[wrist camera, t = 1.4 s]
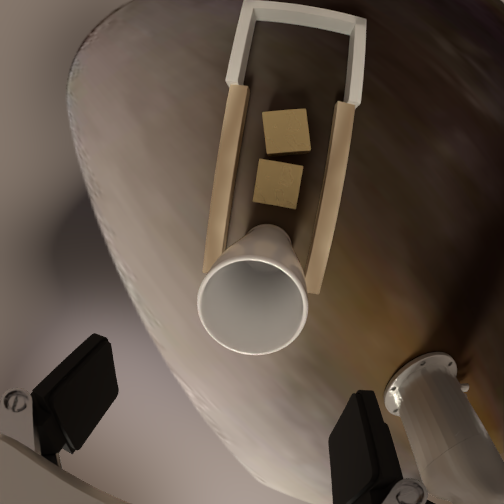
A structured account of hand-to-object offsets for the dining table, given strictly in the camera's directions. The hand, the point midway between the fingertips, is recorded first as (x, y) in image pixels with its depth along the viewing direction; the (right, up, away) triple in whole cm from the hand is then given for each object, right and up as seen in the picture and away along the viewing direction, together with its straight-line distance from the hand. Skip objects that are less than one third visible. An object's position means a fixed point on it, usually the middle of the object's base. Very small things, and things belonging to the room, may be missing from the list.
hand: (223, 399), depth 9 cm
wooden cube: (+4, +13, +19) cm, 23 cm away
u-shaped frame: (+6, +27, +15) cm, 31 cm away
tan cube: (+5, +17, +18) cm, 25 cm away
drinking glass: (+3, +6, +21) cm, 22 cm away
